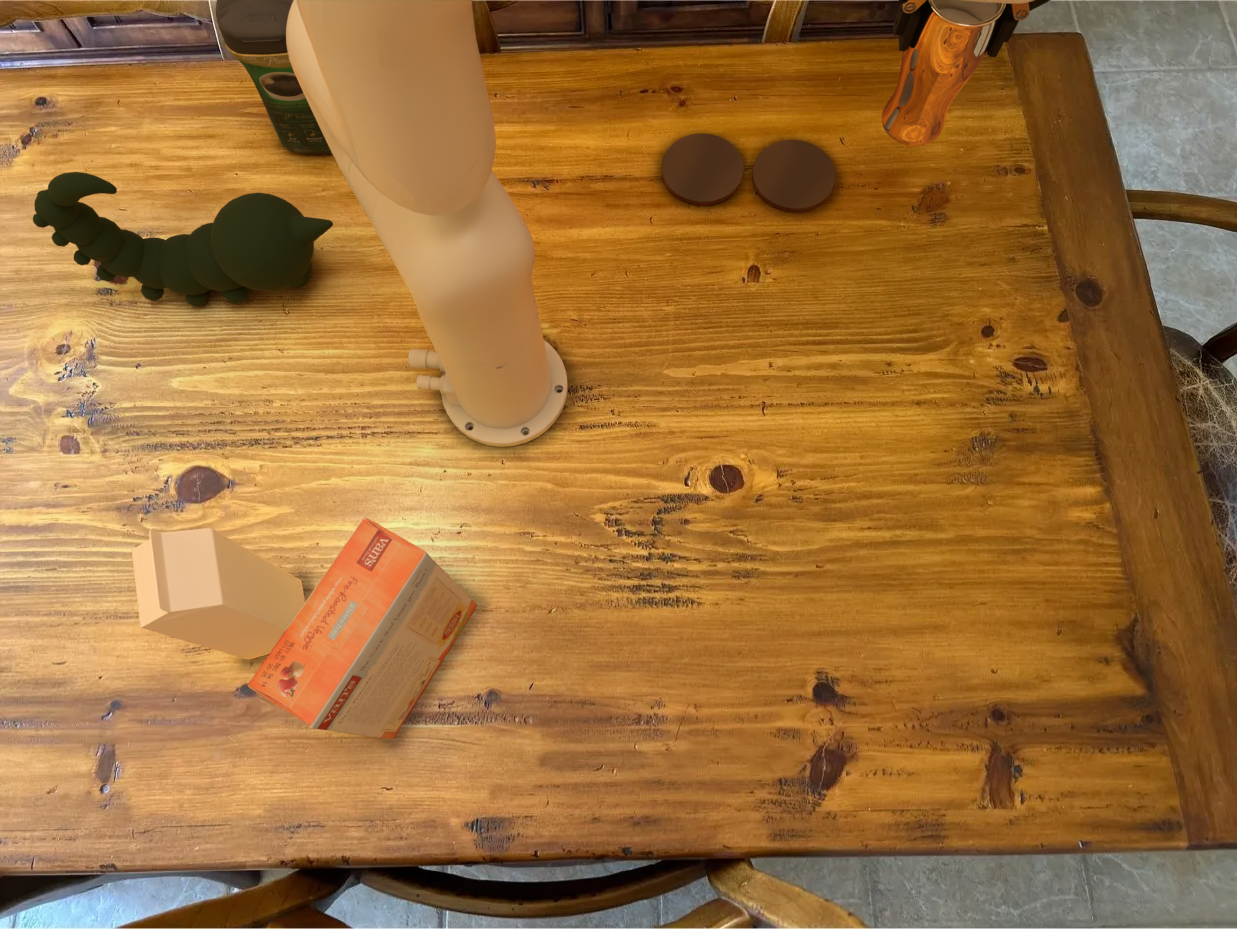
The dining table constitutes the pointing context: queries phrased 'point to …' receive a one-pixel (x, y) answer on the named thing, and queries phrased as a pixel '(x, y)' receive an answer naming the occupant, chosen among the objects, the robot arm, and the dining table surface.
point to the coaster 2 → (794, 176)
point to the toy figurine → (187, 244)
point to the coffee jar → (271, 68)
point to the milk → (213, 592)
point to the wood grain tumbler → (938, 66)
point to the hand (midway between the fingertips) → (947, 40)
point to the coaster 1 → (702, 169)
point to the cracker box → (366, 637)
